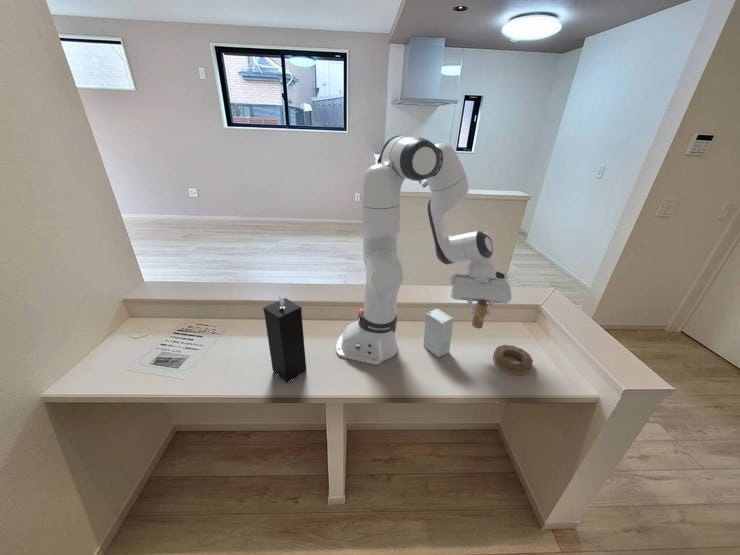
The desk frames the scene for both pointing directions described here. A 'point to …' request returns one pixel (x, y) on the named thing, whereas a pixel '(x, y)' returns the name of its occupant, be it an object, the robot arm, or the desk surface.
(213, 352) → the desk surface
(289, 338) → the square furniture leg
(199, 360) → the desk surface
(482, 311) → the wooden peg
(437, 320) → the skincare box
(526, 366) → the brown faceted ring
